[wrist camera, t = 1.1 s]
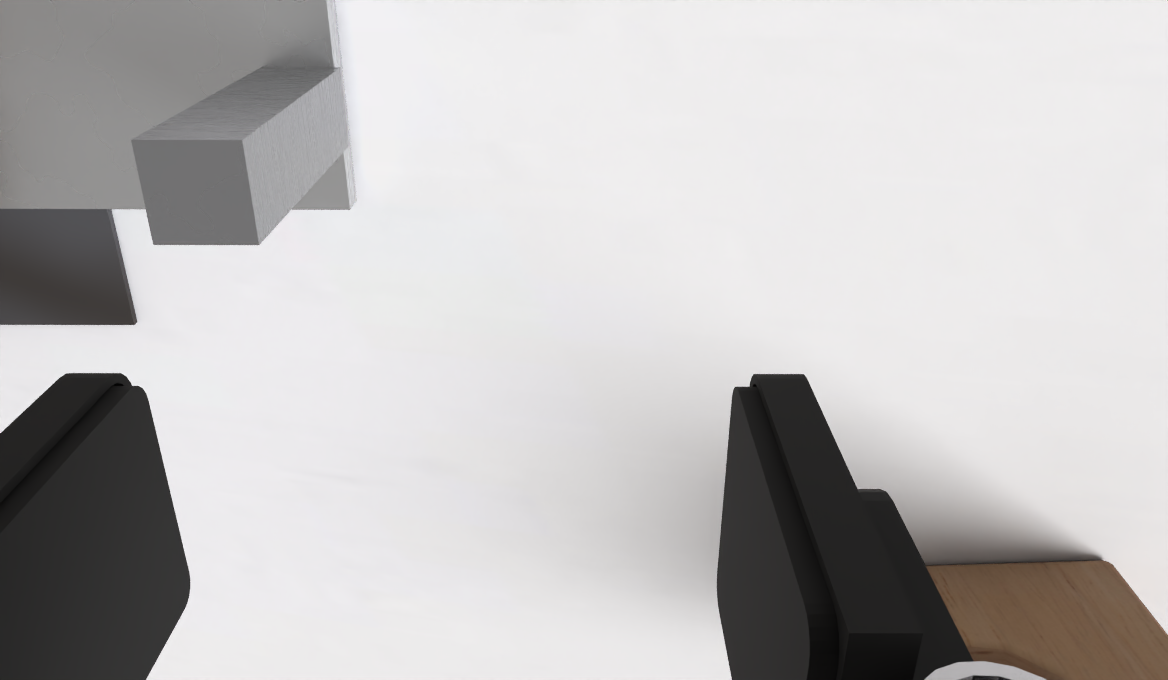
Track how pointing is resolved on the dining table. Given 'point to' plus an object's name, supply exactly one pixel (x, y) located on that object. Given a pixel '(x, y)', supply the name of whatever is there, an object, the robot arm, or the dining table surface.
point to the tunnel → (62, 269)
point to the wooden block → (1054, 619)
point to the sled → (175, 112)
